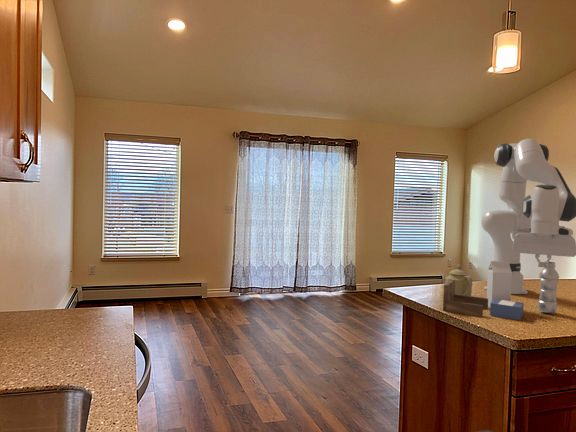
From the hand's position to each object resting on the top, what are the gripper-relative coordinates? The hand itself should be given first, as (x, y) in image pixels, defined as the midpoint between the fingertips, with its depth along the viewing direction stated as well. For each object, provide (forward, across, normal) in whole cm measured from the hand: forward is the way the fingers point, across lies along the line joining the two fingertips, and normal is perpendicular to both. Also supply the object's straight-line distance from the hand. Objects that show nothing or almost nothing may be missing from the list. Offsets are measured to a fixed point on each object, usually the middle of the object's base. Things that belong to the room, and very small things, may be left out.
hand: (542, 267), depth 161 cm
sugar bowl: (+20, -31, +22) cm, 43 cm away
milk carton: (+20, -15, +11) cm, 27 cm away
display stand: (+20, -25, 0) cm, 32 cm away
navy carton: (+20, -11, 0) cm, 23 cm away
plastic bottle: (+20, +2, +14) cm, 24 cm away
